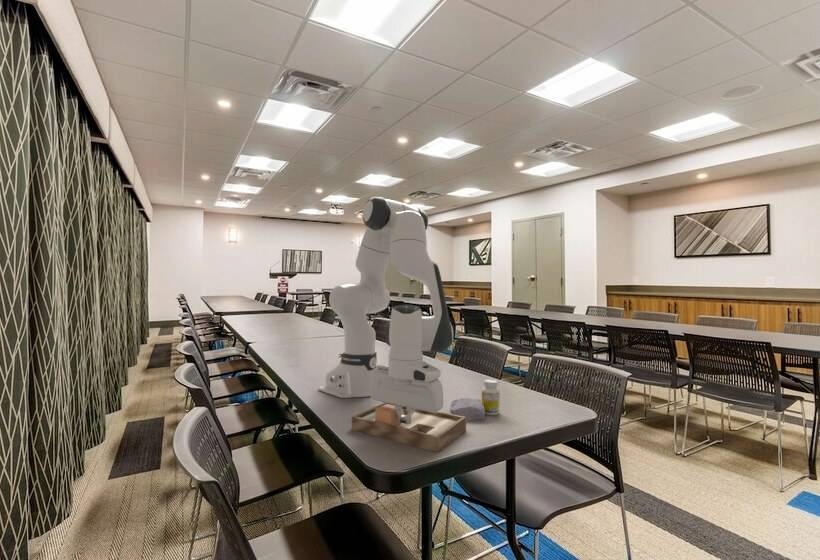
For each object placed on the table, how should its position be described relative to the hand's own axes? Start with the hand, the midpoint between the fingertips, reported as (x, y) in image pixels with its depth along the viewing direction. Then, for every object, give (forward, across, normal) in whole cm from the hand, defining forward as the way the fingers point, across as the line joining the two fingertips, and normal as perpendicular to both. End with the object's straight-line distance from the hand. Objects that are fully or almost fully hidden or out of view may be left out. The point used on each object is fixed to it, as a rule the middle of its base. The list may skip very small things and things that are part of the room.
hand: (404, 423), depth 97 cm
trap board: (+3, -1, +4) cm, 6 cm away
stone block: (+4, +6, +25) cm, 26 cm away
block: (+1, -5, 0) cm, 5 cm away
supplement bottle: (+4, +12, +30) cm, 33 cm away
